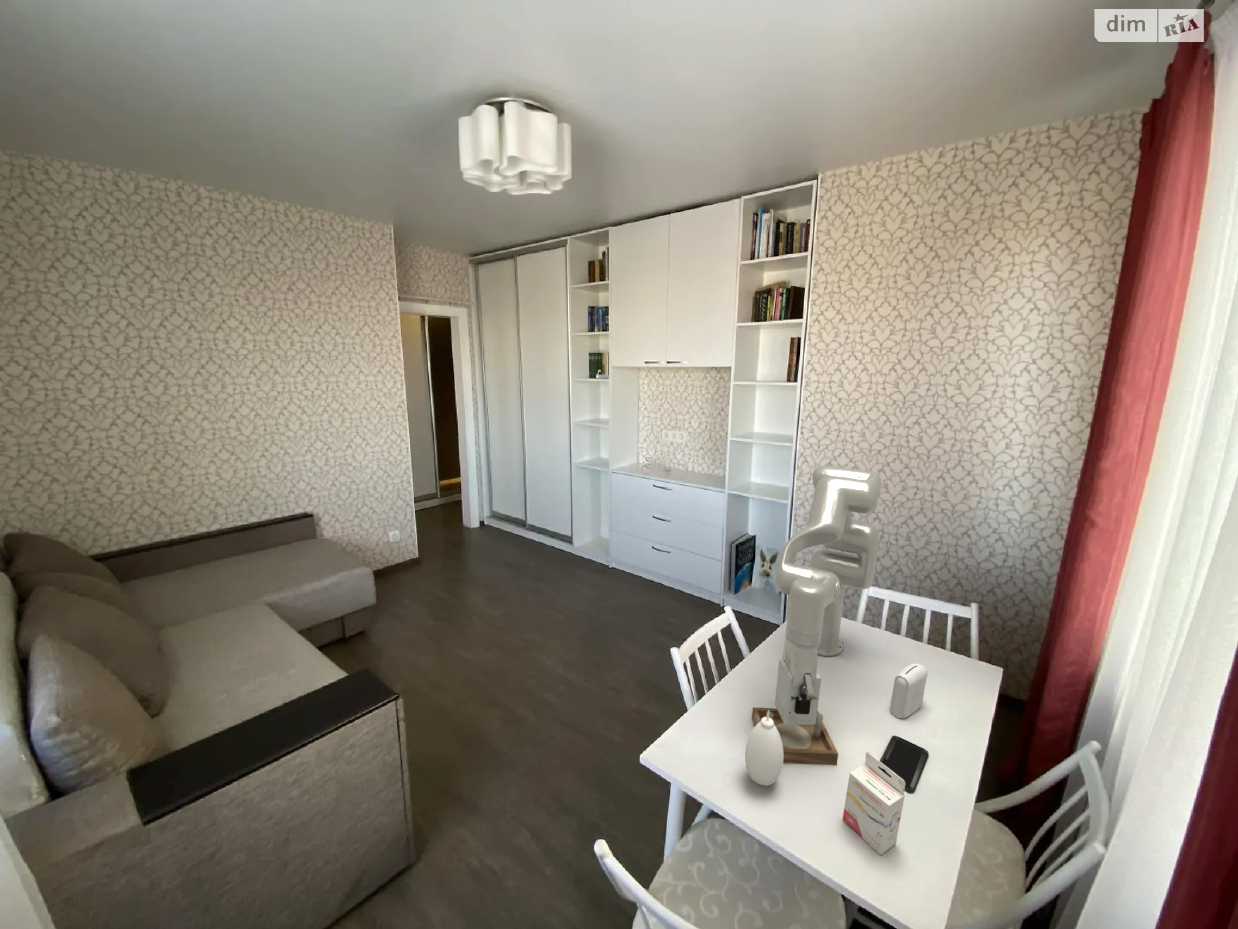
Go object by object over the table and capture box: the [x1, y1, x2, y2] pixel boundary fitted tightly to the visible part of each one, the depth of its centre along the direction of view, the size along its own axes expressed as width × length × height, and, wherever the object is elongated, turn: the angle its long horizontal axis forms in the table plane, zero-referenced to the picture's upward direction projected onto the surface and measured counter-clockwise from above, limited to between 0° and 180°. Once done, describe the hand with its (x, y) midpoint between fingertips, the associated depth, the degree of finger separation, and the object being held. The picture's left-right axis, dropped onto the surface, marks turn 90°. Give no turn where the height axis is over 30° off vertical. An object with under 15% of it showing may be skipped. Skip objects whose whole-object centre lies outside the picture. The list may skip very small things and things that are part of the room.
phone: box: [878, 735, 929, 794], centre depth 114 cm, size 8×1×15 cm
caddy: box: [751, 706, 839, 766], centre depth 120 cm, size 14×16×7 cm
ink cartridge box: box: [842, 751, 906, 856], centre depth 97 cm, size 9×5×15 cm, turn 30°
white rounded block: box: [889, 663, 928, 719], centre depth 130 cm, size 10×4×12 cm, turn 123°
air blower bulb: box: [744, 710, 784, 787], centre depth 107 cm, size 8×8×18 cm
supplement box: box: [774, 658, 822, 725], centre depth 118 cm, size 7×7×13 cm
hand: (796, 700), depth 118 cm, fingers closed on supplement box, 7 cm apart
